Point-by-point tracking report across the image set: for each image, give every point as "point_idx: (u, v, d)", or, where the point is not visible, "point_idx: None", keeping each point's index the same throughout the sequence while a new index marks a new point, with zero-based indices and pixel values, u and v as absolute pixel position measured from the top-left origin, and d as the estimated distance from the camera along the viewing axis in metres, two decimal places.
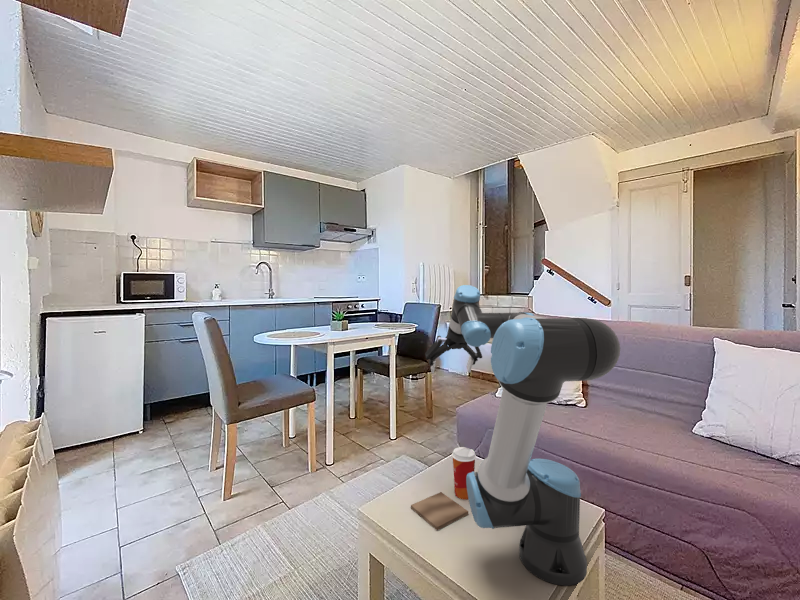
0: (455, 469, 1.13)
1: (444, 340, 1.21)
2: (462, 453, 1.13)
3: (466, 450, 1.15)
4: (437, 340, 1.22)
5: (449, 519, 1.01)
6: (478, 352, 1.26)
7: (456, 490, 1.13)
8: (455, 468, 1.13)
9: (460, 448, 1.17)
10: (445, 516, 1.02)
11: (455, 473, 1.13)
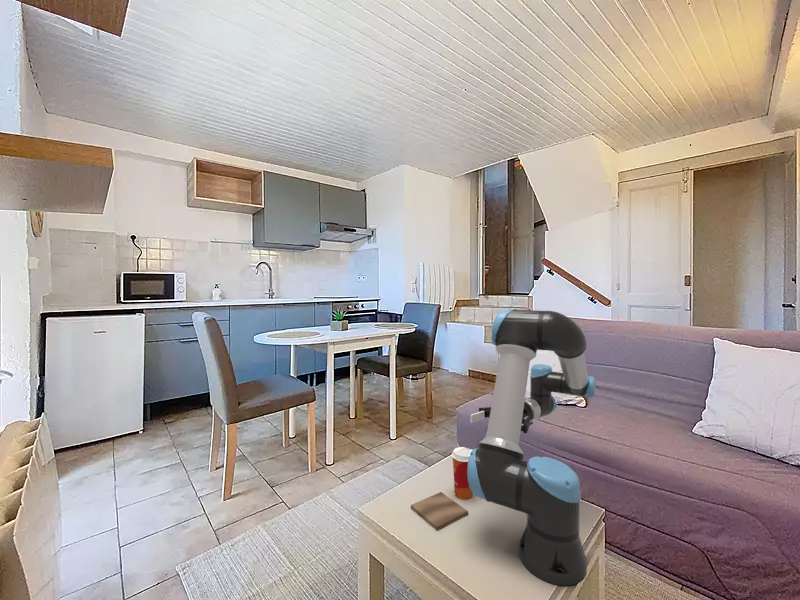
0: (455, 469, 1.13)
1: None
2: (462, 453, 1.13)
3: (466, 450, 1.15)
4: None
5: (449, 519, 1.01)
6: (526, 422, 1.19)
7: (456, 490, 1.13)
8: (455, 468, 1.13)
9: (460, 448, 1.17)
10: (445, 516, 1.02)
11: (455, 473, 1.13)
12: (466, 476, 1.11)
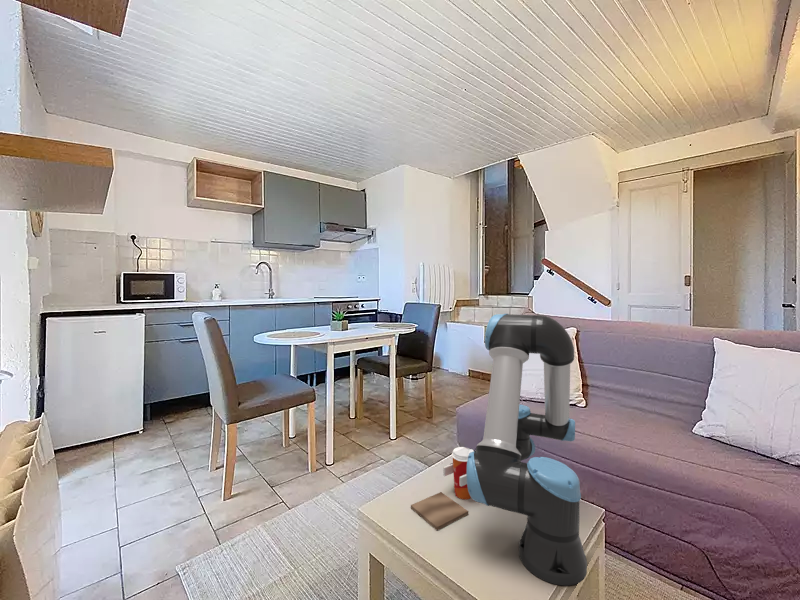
0: (454, 469, 1.13)
1: None
2: (462, 453, 1.13)
3: (466, 450, 1.15)
4: None
5: (449, 519, 1.01)
6: None
7: (456, 490, 1.13)
8: (455, 468, 1.13)
9: (460, 448, 1.17)
10: (445, 516, 1.02)
11: (455, 473, 1.13)
12: None
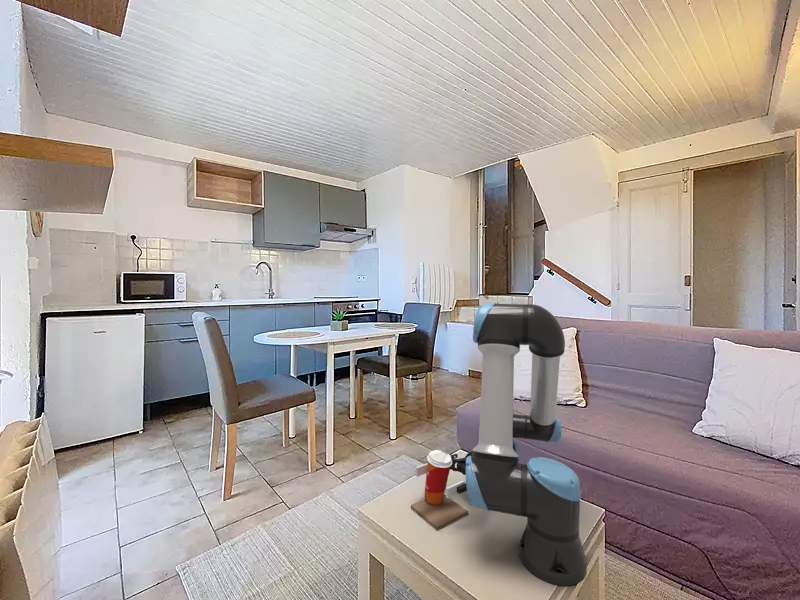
0: (428, 473, 1.08)
1: (459, 459, 1.17)
2: (438, 458, 1.07)
3: (443, 455, 1.09)
4: None
5: (449, 519, 1.01)
6: None
7: (426, 494, 1.09)
8: (428, 472, 1.08)
9: (437, 451, 1.11)
10: (445, 516, 1.02)
11: (428, 477, 1.08)
12: (439, 482, 1.06)
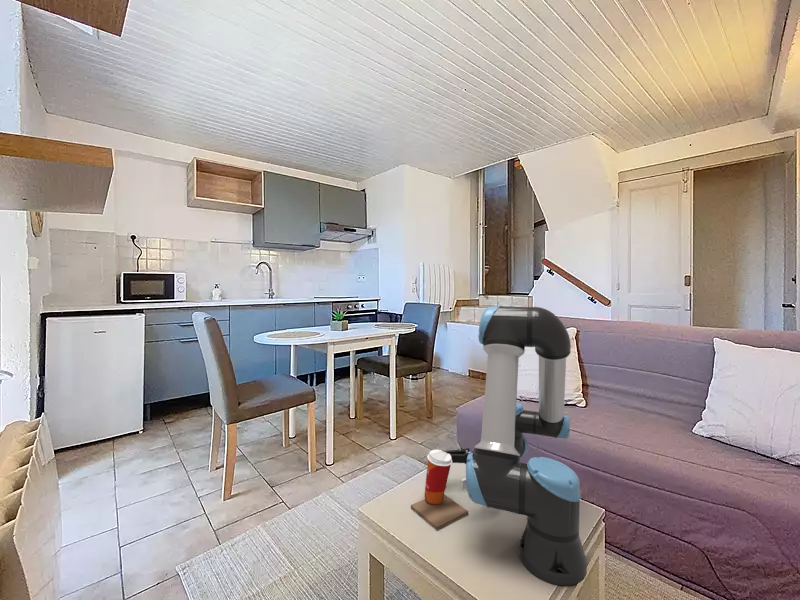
0: (428, 472, 1.08)
1: (470, 453, 1.21)
2: (438, 456, 1.08)
3: (443, 454, 1.10)
4: None
5: (449, 519, 1.01)
6: None
7: (426, 493, 1.09)
8: (429, 471, 1.08)
9: (437, 451, 1.12)
10: (445, 516, 1.02)
11: (428, 476, 1.08)
12: (439, 481, 1.06)
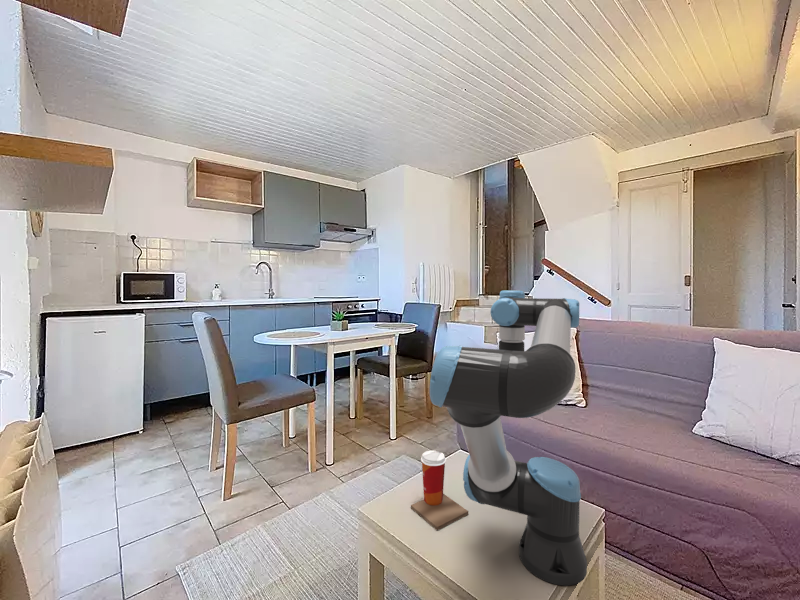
0: (423, 474, 1.09)
1: None
2: (431, 457, 1.09)
3: (436, 454, 1.11)
4: None
5: (449, 519, 1.01)
6: None
7: (425, 495, 1.09)
8: (424, 472, 1.08)
9: (430, 451, 1.12)
10: (445, 516, 1.02)
11: (424, 478, 1.09)
12: (435, 481, 1.07)
